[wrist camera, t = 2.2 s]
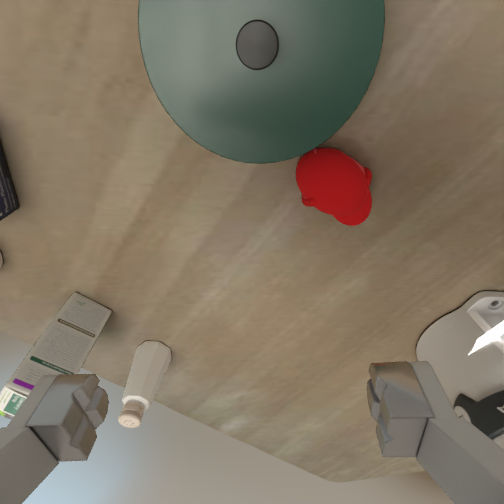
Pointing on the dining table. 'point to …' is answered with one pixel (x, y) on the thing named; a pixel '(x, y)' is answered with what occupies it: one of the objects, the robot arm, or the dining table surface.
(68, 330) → the syrup box
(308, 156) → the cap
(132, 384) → the salt shaker
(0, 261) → the eye dropper bottle
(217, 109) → the lid
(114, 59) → the dining table surface
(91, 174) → the dining table surface
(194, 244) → the dining table surface
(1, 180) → the small box
